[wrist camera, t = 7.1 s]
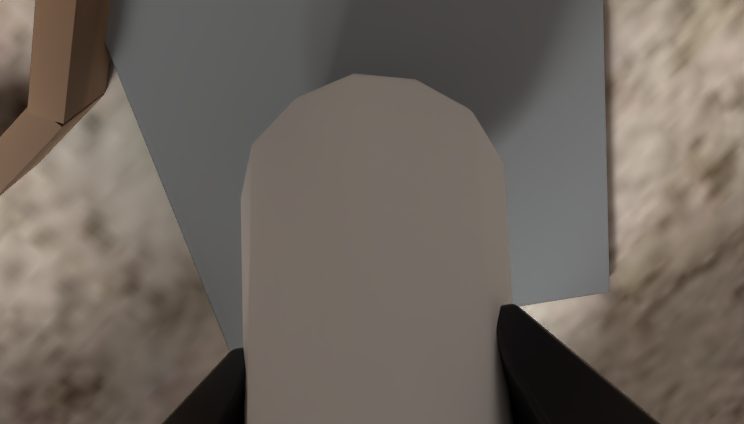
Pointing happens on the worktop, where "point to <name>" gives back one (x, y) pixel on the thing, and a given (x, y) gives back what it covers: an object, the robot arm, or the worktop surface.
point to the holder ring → (57, 81)
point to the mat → (381, 58)
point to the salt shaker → (374, 261)
